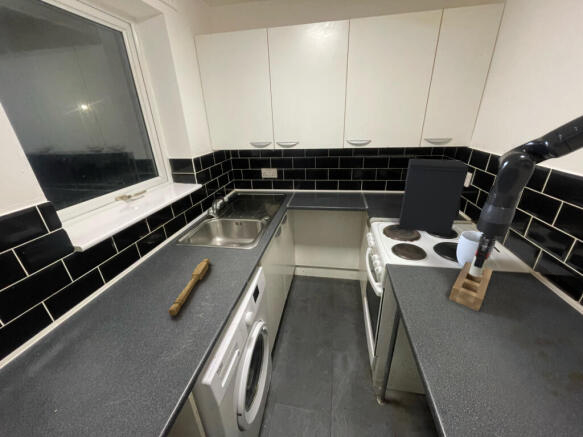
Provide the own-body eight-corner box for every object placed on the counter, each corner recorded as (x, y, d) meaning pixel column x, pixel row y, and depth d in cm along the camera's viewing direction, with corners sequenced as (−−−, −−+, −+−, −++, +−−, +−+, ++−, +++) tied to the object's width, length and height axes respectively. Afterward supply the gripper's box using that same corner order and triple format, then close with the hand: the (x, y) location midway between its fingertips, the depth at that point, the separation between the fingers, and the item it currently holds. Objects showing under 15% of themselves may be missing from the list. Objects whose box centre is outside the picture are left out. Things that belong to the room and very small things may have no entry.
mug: (464, 251, 104) (473, 225, 98) (494, 263, 95) (505, 235, 90) (447, 262, 96) (455, 235, 91) (477, 276, 88) (488, 247, 83)
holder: (488, 280, 86) (492, 269, 84) (478, 311, 73) (483, 299, 71) (462, 271, 91) (466, 261, 89) (448, 298, 78) (452, 287, 76)
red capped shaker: (482, 273, 79) (490, 251, 75) (480, 278, 77) (488, 255, 73) (470, 269, 81) (477, 247, 78) (467, 274, 79) (475, 252, 75)
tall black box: (452, 221, 132) (470, 159, 118) (459, 236, 116) (480, 167, 102) (399, 214, 143) (409, 157, 129) (399, 228, 127) (410, 164, 112)
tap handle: (166, 309, 75) (203, 257, 102) (168, 316, 76) (205, 262, 103) (175, 309, 74) (210, 257, 102) (177, 316, 76) (211, 262, 103)
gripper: (509, 229, 63) (489, 279, 70) (513, 213, 72) (495, 259, 79) (476, 221, 68) (460, 269, 75) (484, 208, 77) (469, 251, 84)
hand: (478, 263), depth 77 cm, fingers closed on red capped shaker, 3 cm apart
